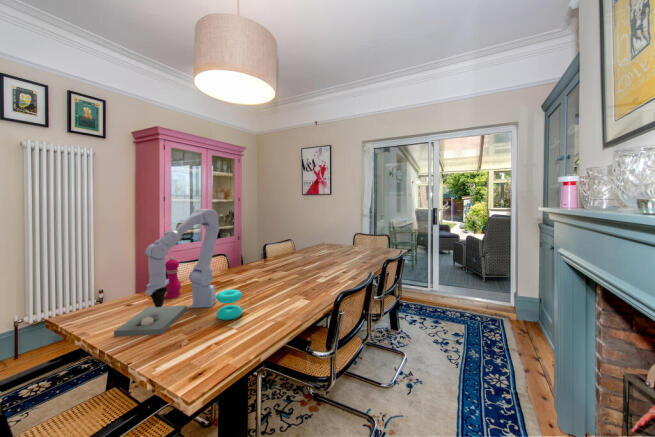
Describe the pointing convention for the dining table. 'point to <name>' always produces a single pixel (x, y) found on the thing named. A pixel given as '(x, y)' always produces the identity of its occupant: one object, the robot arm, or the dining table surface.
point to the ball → (147, 321)
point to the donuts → (229, 310)
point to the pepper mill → (172, 279)
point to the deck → (160, 315)
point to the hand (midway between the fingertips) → (158, 306)
